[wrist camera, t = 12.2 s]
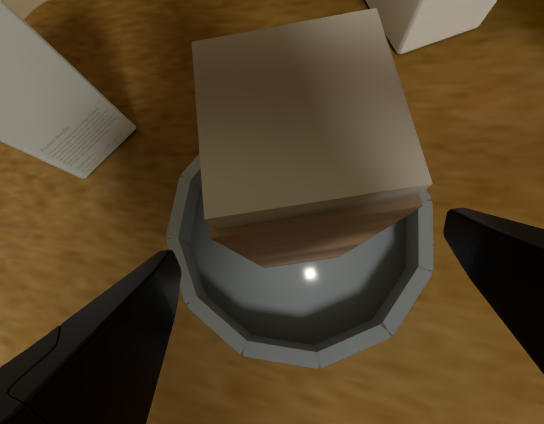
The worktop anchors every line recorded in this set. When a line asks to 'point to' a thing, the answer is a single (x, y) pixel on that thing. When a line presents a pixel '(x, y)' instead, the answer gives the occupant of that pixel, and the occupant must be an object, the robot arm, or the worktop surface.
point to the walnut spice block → (304, 139)
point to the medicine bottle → (427, 20)
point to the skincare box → (52, 103)
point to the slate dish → (299, 286)
